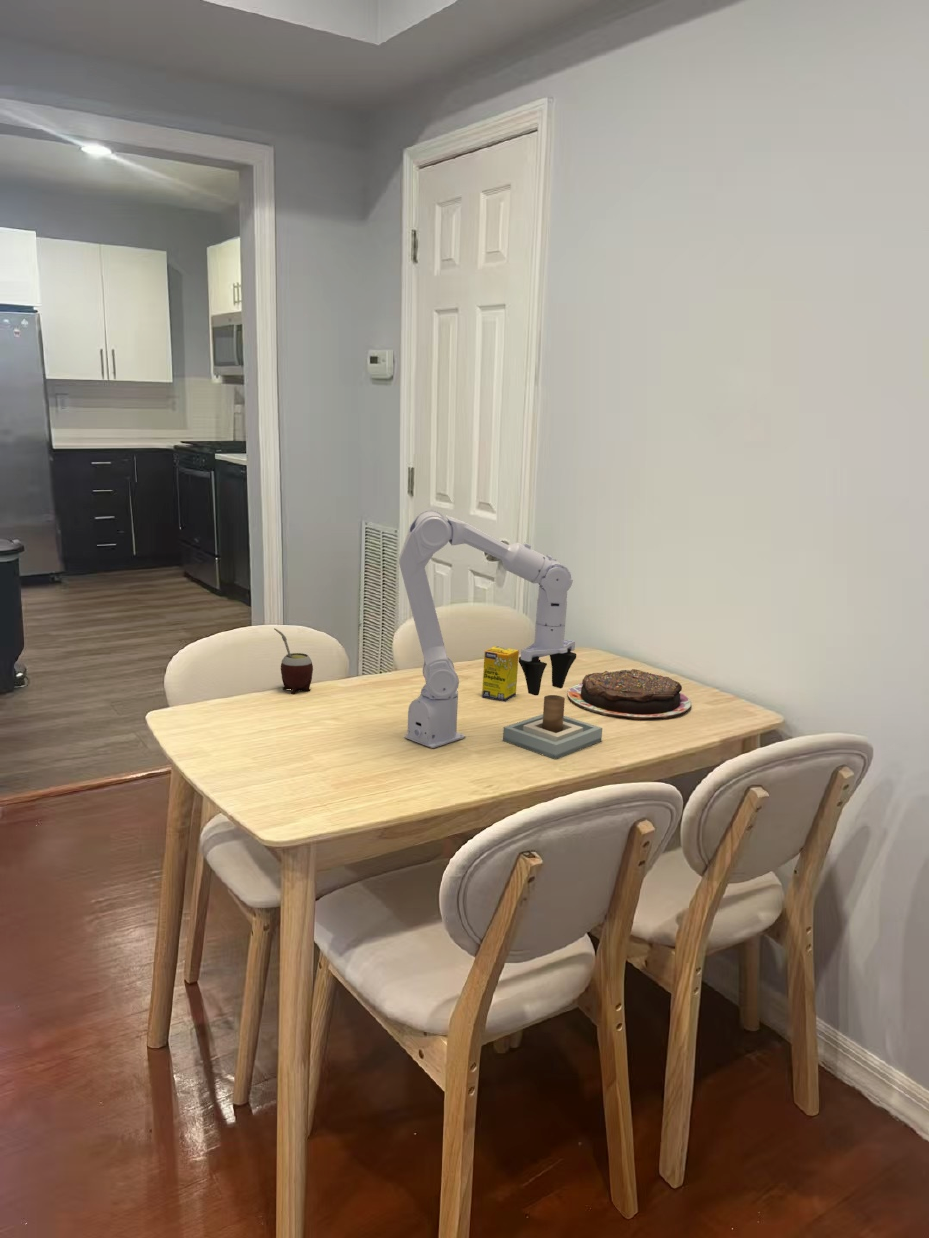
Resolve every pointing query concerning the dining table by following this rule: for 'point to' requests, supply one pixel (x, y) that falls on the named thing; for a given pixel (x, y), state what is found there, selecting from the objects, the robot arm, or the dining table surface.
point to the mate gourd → (296, 670)
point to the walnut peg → (553, 713)
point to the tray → (548, 747)
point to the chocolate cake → (630, 695)
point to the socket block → (567, 731)
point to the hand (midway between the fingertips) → (545, 690)
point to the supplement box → (500, 673)
